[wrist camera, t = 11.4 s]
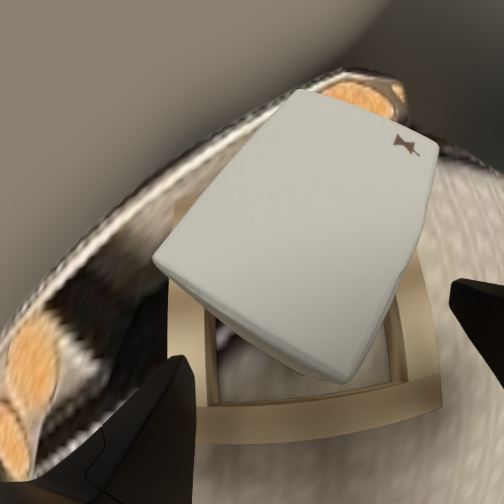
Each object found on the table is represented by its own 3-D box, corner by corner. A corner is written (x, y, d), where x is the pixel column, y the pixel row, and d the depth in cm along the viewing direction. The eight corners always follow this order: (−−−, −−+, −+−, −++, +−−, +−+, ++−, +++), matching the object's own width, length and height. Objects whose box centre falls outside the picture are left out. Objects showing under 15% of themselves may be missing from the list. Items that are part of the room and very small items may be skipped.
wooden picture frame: (422, 404, 12) (442, 407, 10) (187, 432, 13) (171, 440, 11) (382, 202, 18) (391, 181, 16) (187, 221, 19) (175, 201, 17)
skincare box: (293, 257, 17) (299, 81, 7) (354, 289, 16) (446, 142, 5) (239, 340, 16) (140, 256, 5) (303, 379, 14) (359, 393, 3)
